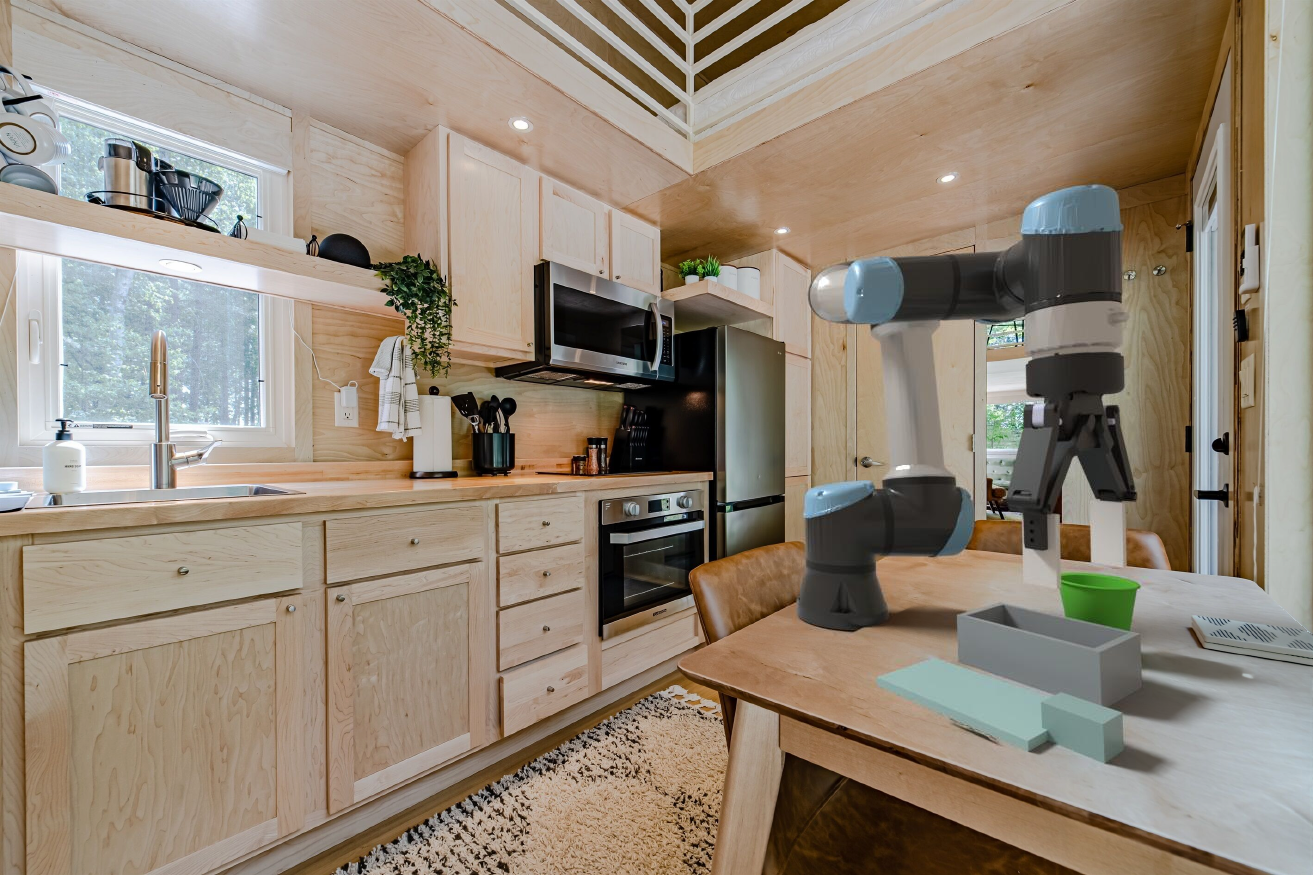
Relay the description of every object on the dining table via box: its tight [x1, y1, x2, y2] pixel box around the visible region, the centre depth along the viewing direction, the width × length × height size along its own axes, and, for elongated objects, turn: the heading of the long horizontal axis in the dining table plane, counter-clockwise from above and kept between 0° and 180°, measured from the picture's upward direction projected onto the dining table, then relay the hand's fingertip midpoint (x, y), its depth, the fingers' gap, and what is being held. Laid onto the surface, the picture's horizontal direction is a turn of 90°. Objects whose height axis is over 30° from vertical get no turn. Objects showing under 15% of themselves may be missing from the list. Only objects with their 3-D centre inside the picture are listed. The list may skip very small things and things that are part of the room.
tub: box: [956, 601, 1143, 708], centre depth 67 cm, size 16×11×7 cm
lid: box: [876, 657, 1125, 764], centre depth 58 cm, size 21×11×4 cm, turn 30°
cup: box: [1058, 571, 1142, 632], centre depth 72 cm, size 9×9×11 cm
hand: (1077, 574), depth 52 cm, fingers open, 13 cm apart
